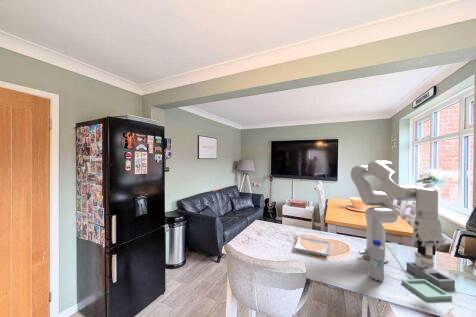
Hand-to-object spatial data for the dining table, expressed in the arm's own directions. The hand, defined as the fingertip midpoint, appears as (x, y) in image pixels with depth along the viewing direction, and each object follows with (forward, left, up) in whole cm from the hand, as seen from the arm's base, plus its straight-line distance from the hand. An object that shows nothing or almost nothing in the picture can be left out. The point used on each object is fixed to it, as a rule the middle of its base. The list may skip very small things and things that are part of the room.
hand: (426, 253), depth 90 cm
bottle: (-16, +10, -18) cm, 26 cm away
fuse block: (+12, +9, -18) cm, 23 cm away
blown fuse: (0, 0, -5) cm, 5 cm away
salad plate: (-34, +44, -18) cm, 59 cm away
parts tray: (0, 0, -18) cm, 18 cm away
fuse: (+12, +14, -18) cm, 25 cm away
